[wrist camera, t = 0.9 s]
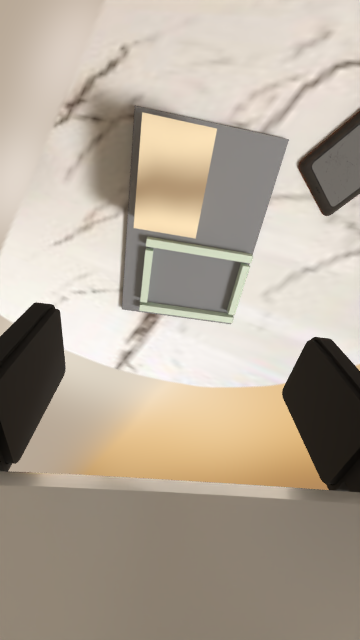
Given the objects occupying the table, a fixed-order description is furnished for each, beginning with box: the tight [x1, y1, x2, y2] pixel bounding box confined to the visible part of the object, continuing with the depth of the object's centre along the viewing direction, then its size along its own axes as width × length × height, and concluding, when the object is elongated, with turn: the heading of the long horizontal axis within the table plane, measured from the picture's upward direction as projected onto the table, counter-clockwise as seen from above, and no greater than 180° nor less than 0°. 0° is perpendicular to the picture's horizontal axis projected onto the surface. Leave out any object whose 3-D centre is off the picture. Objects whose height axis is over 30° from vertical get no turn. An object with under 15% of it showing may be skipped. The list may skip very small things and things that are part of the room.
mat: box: [122, 106, 289, 324], centre depth 27 cm, size 20×14×2 cm
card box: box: [134, 112, 217, 239], centre depth 23 cm, size 8×6×5 cm
